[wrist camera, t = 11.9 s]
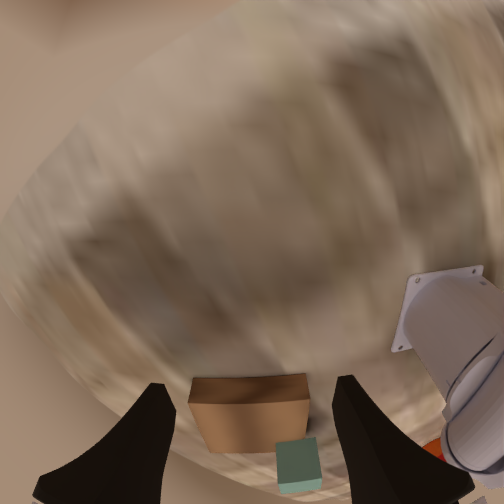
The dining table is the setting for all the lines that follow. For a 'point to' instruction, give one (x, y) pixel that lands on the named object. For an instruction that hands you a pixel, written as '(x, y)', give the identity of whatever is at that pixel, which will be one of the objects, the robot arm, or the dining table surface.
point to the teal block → (298, 466)
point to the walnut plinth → (250, 412)
